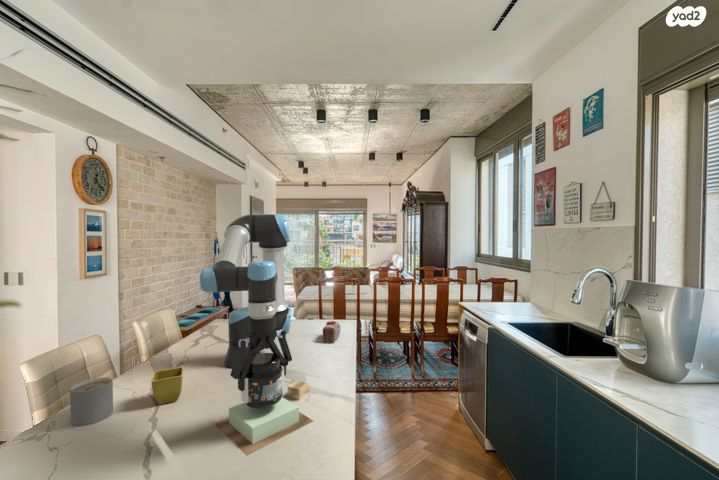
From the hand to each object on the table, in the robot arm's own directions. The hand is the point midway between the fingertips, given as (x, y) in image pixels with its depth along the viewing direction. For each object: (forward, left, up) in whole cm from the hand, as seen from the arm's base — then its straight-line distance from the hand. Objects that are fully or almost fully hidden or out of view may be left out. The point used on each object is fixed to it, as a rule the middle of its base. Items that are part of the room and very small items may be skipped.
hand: (263, 394), depth 91 cm
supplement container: (0, 0, -2) cm, 2 cm away
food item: (-47, +66, -10) cm, 81 cm away
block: (-6, +16, -10) cm, 20 cm away
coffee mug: (-45, -32, -10) cm, 56 cm away
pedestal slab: (0, 0, -8) cm, 8 cm away
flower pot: (-38, -14, -10) cm, 42 cm away
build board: (0, 0, -9) cm, 9 cm away
